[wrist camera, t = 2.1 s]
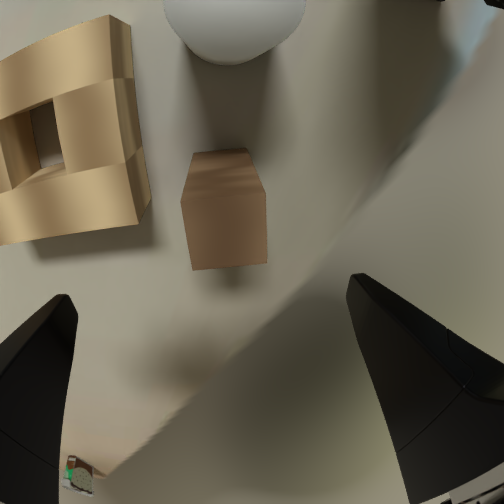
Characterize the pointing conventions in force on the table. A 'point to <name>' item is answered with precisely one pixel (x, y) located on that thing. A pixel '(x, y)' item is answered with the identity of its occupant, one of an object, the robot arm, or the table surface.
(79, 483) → the food container
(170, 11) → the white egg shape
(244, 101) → the table surface
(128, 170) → the socket block
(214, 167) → the square peg
